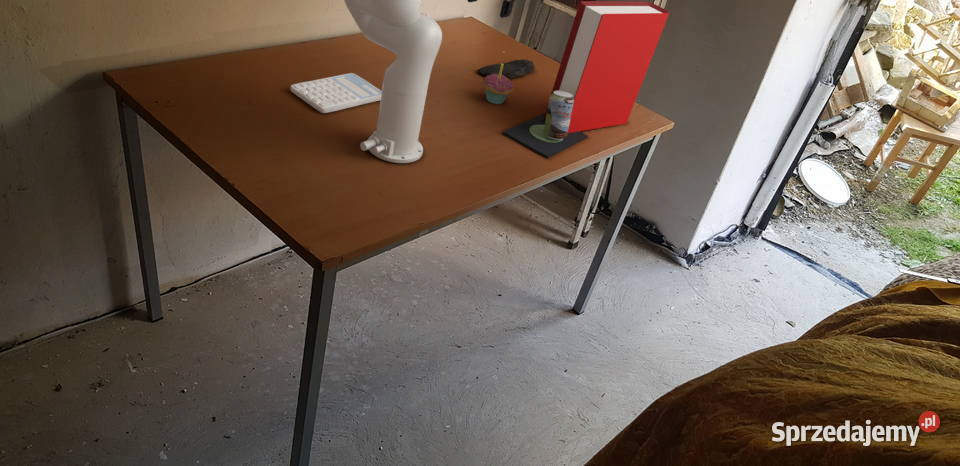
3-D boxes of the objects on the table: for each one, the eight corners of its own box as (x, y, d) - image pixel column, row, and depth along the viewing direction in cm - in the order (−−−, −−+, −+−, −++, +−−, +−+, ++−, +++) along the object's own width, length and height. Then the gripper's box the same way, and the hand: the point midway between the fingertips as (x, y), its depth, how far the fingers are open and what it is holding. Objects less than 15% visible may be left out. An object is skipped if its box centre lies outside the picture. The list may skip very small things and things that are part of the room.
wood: (492, 83, 201) (494, 73, 200) (475, 72, 205) (477, 62, 203) (543, 74, 215) (546, 65, 214) (526, 64, 219) (529, 55, 218)
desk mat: (547, 158, 171) (548, 156, 171) (502, 133, 177) (502, 131, 177) (587, 137, 186) (587, 135, 185) (544, 115, 191) (545, 112, 191)
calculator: (288, 90, 171) (288, 83, 170) (352, 77, 184) (353, 71, 183) (322, 115, 165) (322, 107, 164) (386, 99, 178) (387, 92, 177)
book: (563, 133, 183) (603, 13, 165) (543, 119, 187) (580, 1, 170) (629, 123, 200) (672, 13, 182) (609, 110, 204) (649, 1, 187)
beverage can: (554, 145, 176) (567, 102, 170) (534, 131, 180) (546, 88, 174) (570, 141, 180) (584, 99, 174) (551, 127, 184) (563, 85, 178)
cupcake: (506, 110, 189) (517, 68, 182) (476, 101, 189) (485, 59, 182) (511, 98, 196) (522, 58, 189) (482, 90, 196) (492, 49, 189)
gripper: (464, -79, 155) (450, -3, 165) (527, -54, 148) (508, 25, 158) (484, -80, 160) (469, -6, 170) (546, -56, 154) (526, 20, 163)
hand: (488, 8), depth 164 cm, fingers open, 9 cm apart
